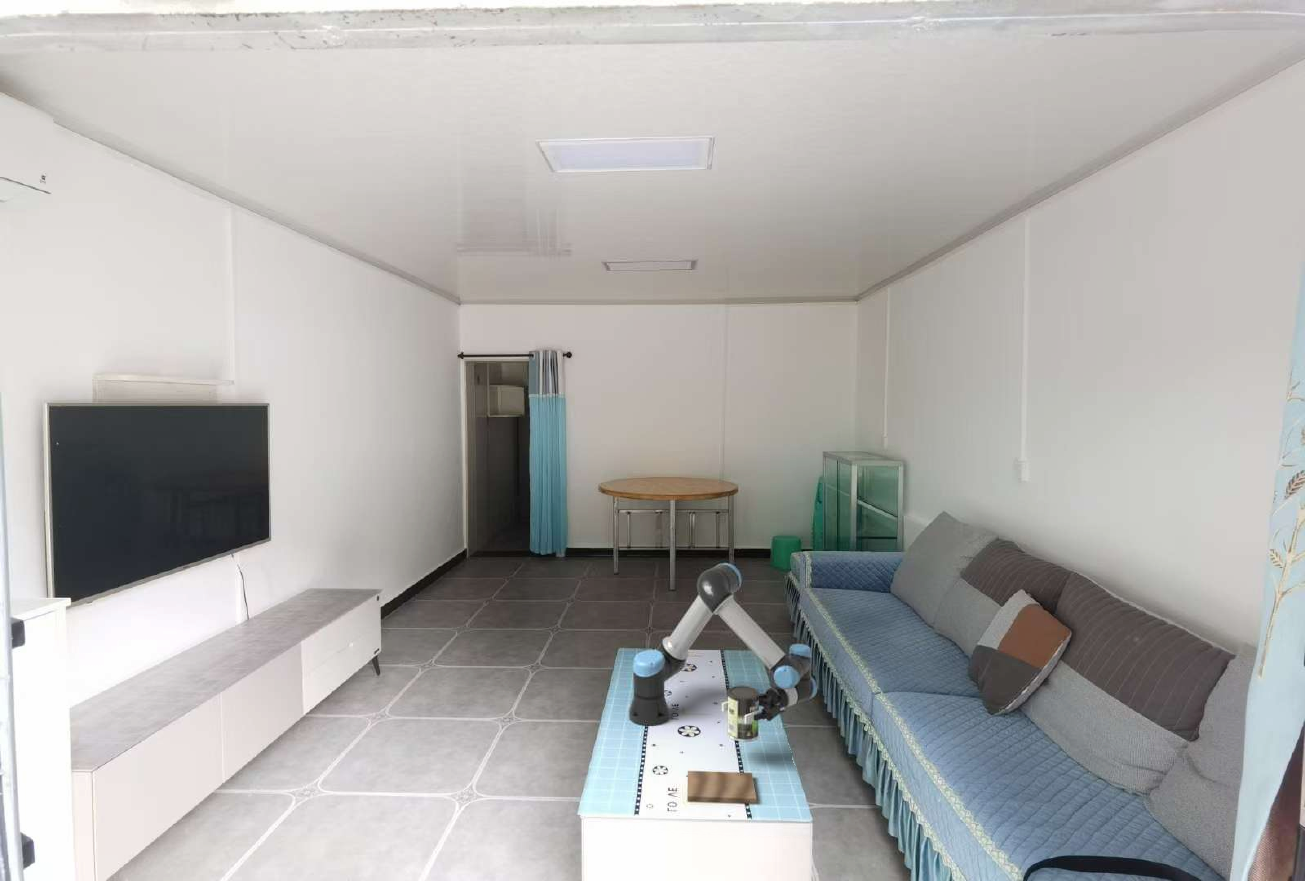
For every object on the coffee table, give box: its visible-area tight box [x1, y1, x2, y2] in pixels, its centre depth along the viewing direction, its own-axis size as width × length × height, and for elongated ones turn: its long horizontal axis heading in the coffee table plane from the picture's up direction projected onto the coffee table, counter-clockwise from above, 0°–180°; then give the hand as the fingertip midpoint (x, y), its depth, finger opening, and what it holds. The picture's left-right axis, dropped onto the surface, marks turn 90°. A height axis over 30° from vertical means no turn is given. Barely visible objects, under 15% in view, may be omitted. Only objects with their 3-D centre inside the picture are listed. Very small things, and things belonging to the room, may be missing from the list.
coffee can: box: [726, 685, 760, 743], centre depth 213 cm, size 10×10×14 cm
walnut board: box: [686, 770, 757, 805], centre depth 196 cm, size 20×14×2 cm
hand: (733, 713), depth 211 cm, fingers closed on coffee can, 10 cm apart
